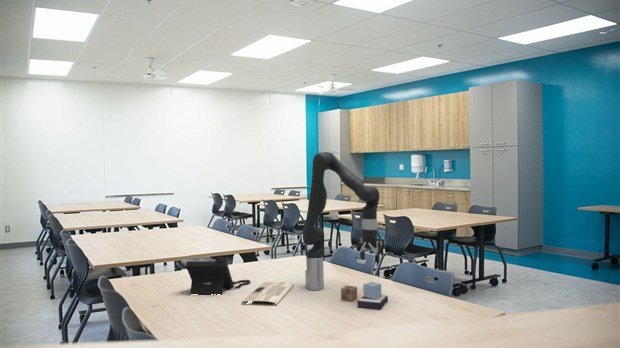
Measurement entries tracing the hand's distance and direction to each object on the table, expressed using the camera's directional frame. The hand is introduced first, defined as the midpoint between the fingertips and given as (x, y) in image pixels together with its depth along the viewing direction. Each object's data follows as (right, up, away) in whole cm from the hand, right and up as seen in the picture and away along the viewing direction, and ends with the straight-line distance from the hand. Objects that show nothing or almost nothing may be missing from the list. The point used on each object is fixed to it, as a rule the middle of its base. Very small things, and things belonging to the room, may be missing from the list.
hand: (369, 261), depth 219 cm
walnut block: (-10, -20, +5) cm, 23 cm away
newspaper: (-49, -22, +17) cm, 57 cm away
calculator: (+1, -21, -4) cm, 21 cm away
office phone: (-79, -22, +32) cm, 88 cm away
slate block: (+1, -16, -4) cm, 17 cm away
